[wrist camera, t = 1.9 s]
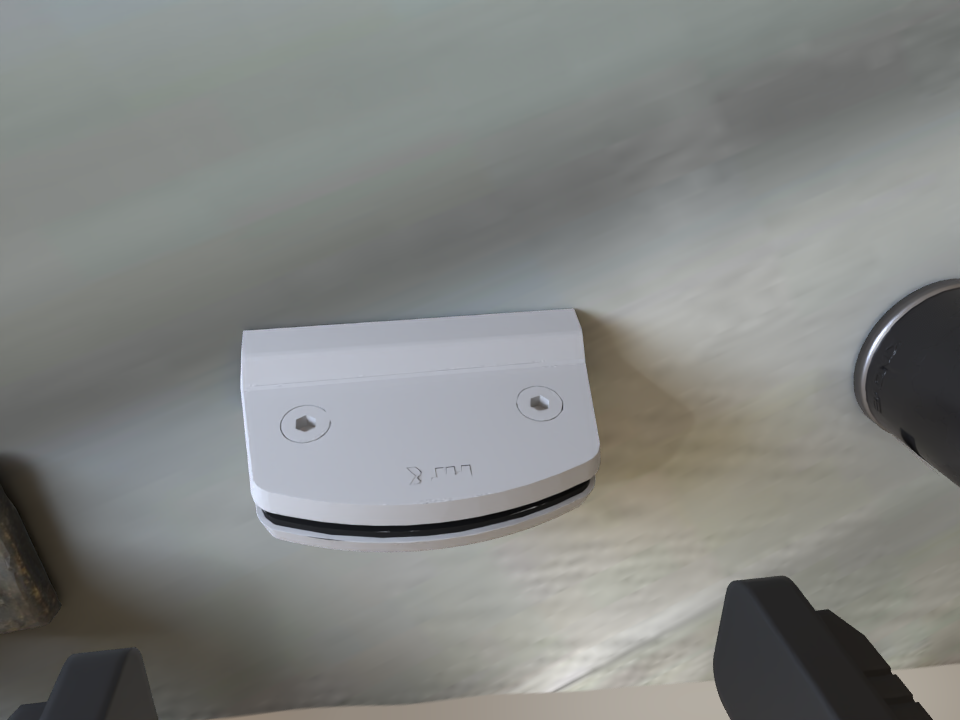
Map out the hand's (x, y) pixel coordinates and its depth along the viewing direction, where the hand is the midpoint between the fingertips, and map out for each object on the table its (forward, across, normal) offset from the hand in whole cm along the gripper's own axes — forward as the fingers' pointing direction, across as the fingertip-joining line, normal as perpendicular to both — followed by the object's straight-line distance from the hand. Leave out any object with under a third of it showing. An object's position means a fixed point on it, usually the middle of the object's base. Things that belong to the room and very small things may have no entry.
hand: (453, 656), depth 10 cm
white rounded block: (+26, +1, -9) cm, 28 cm away
